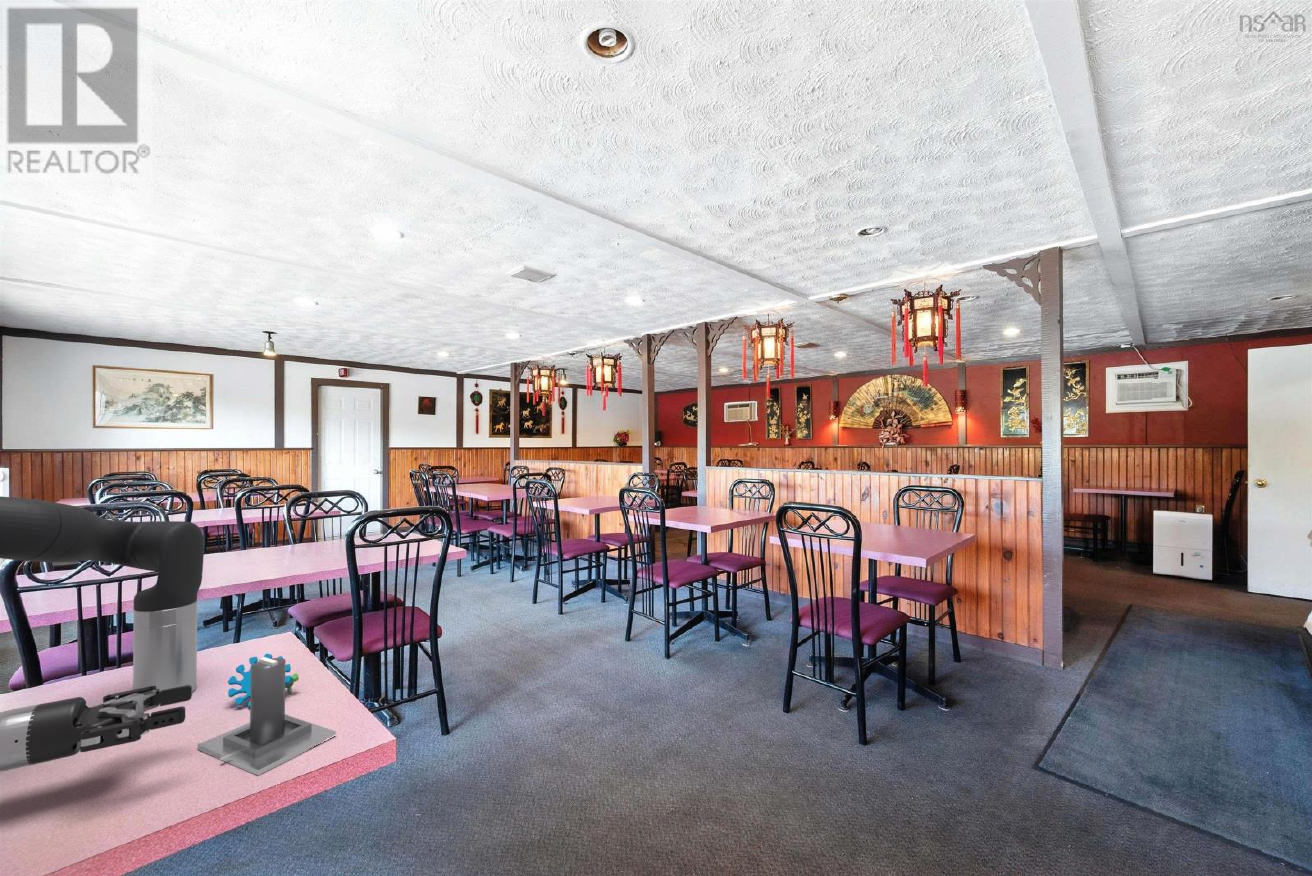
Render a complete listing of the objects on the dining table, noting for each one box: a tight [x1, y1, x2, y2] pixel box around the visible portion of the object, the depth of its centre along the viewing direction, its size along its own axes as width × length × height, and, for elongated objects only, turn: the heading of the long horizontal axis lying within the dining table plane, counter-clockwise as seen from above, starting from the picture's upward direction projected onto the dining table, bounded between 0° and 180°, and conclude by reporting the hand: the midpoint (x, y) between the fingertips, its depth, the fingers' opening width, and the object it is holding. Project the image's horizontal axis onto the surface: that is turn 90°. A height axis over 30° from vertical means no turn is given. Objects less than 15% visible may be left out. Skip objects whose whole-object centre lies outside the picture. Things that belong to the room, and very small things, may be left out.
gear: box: [227, 653, 299, 708], centre depth 106 cm, size 11×6×10 cm
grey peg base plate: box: [196, 713, 337, 776], centre depth 90 cm, size 16×13×2 cm
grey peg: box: [249, 656, 286, 745], centre depth 90 cm, size 5×5×13 cm
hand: (188, 702), depth 84 cm, fingers open, 8 cm apart
